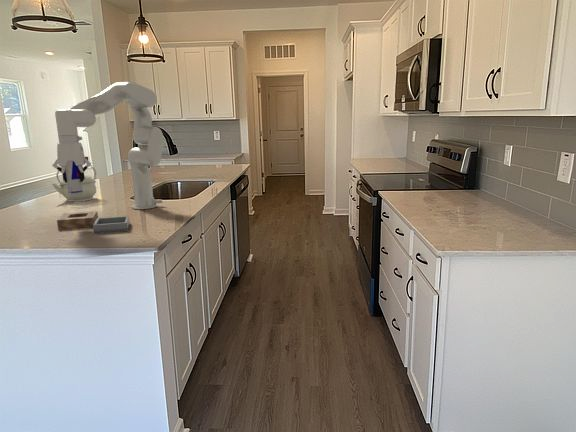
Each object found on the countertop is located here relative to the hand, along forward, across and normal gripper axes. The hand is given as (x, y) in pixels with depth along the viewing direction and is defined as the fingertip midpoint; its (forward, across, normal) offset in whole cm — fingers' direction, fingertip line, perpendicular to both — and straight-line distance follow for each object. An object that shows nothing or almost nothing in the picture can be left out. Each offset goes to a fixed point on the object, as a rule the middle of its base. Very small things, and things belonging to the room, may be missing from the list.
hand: (74, 181), depth 175 cm
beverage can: (+6, 0, 0) cm, 6 cm away
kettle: (+20, +12, -64) cm, 68 cm away
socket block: (+19, 0, 0) cm, 19 cm away
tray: (+19, -15, +13) cm, 28 cm away
